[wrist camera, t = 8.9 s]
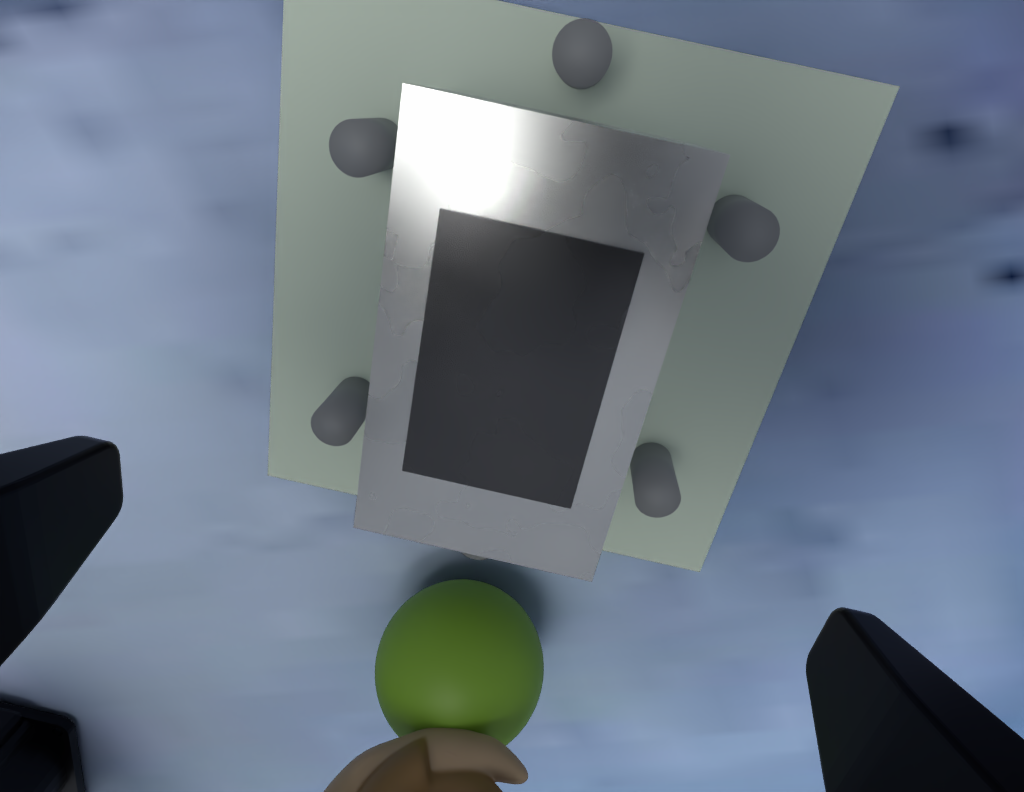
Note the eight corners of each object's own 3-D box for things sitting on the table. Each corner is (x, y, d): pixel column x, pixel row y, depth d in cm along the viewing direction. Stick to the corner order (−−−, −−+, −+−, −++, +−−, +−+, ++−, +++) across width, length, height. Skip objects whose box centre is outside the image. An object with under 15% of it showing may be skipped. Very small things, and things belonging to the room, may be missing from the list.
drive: (590, 492, 19) (591, 584, 15) (396, 448, 19) (352, 530, 15) (694, 143, 15) (731, 155, 11) (446, 89, 15) (401, 83, 11)
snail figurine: (362, 547, 22) (153, 957, 12) (542, 545, 22) (500, 986, 11) (387, 660, 25) (232, 1096, 14) (552, 663, 24) (525, 1128, 13)
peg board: (693, 548, 21) (711, 618, 18) (283, 456, 21) (236, 511, 18) (876, 88, 15) (947, 82, 12) (306, -34, 15) (241, -68, 12)
